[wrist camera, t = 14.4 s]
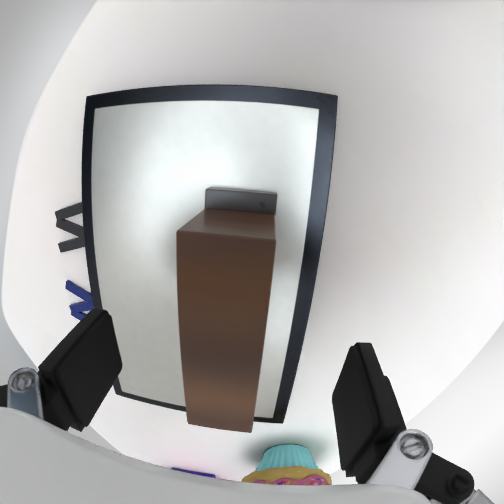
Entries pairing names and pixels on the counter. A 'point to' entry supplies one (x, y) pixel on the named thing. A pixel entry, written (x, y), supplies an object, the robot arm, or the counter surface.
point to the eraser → (225, 304)
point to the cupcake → (288, 468)
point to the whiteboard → (192, 203)
